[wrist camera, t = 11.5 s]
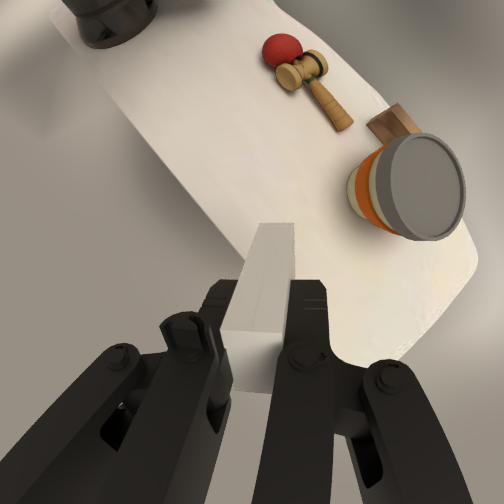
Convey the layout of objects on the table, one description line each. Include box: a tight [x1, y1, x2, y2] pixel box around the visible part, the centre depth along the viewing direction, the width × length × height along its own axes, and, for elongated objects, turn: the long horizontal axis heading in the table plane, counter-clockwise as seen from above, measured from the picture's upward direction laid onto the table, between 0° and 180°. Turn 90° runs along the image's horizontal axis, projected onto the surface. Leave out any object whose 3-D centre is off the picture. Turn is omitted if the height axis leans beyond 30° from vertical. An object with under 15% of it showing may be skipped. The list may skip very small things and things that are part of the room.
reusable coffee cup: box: [347, 133, 466, 241], centre depth 32 cm, size 12×13×15 cm
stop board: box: [366, 103, 422, 145], centre depth 35 cm, size 16×2×8 cm, turn 46°
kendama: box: [262, 34, 354, 131], centre depth 34 cm, size 8×6×18 cm
